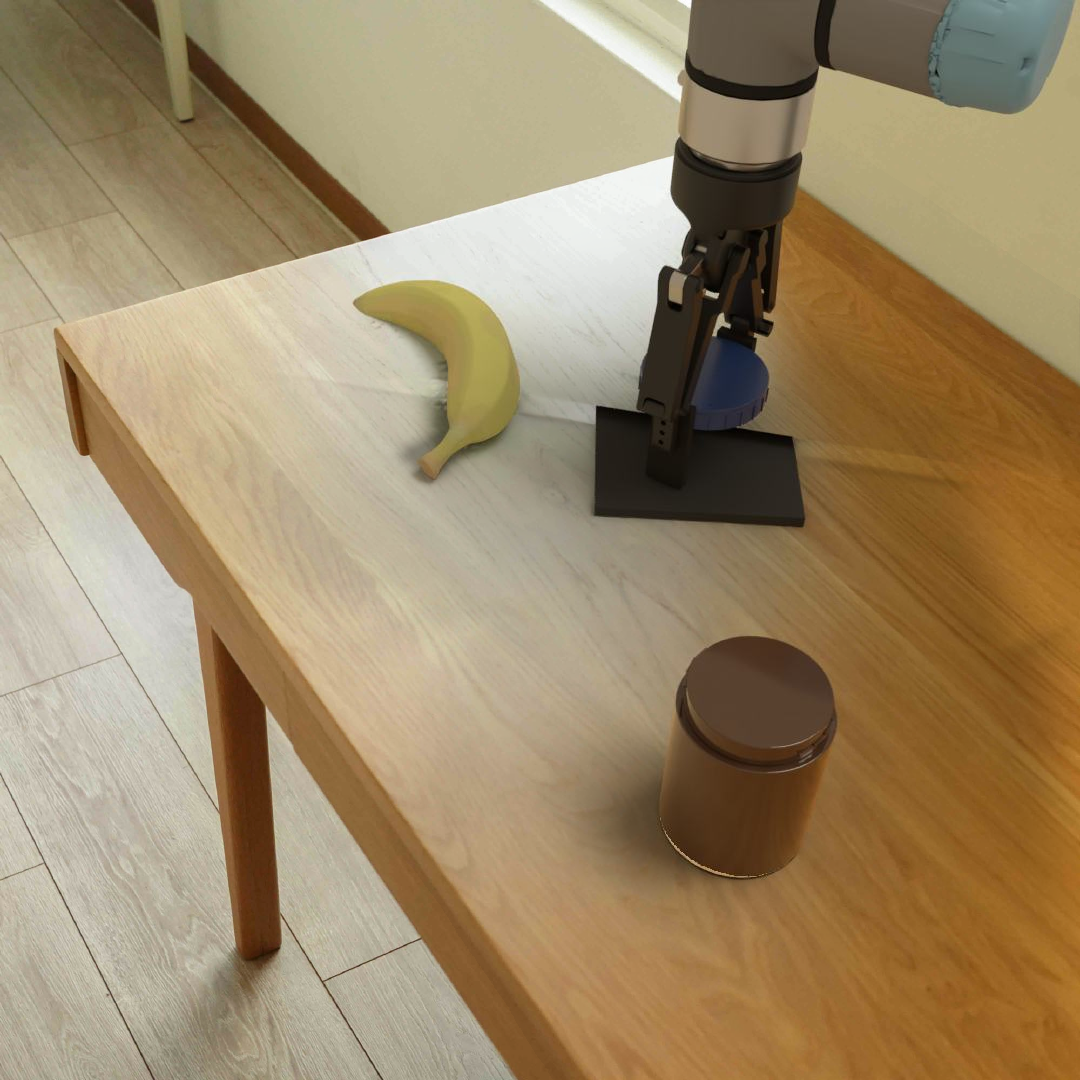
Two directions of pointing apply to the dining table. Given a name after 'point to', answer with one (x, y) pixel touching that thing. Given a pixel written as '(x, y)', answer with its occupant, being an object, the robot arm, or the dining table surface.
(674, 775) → the jar
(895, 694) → the dining table surface
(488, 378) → the banana
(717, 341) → the jar lid
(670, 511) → the tray
